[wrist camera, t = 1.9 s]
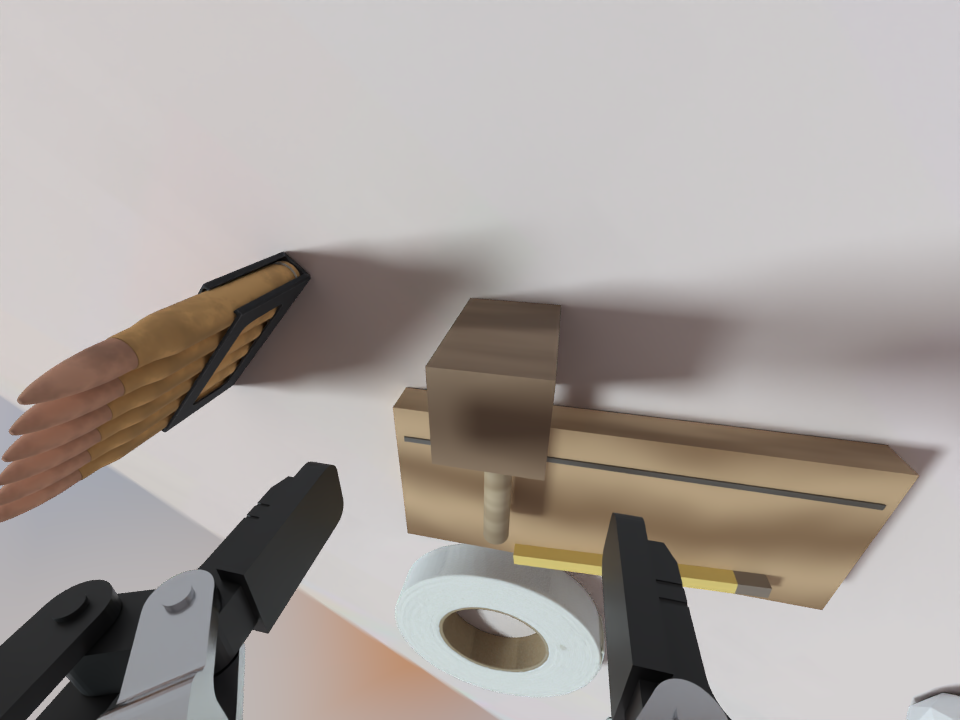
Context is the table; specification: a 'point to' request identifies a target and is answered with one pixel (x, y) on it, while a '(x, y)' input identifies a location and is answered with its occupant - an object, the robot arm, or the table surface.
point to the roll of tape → (508, 590)
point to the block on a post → (495, 398)
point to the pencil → (689, 573)
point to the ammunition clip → (142, 381)
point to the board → (674, 494)
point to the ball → (936, 708)
